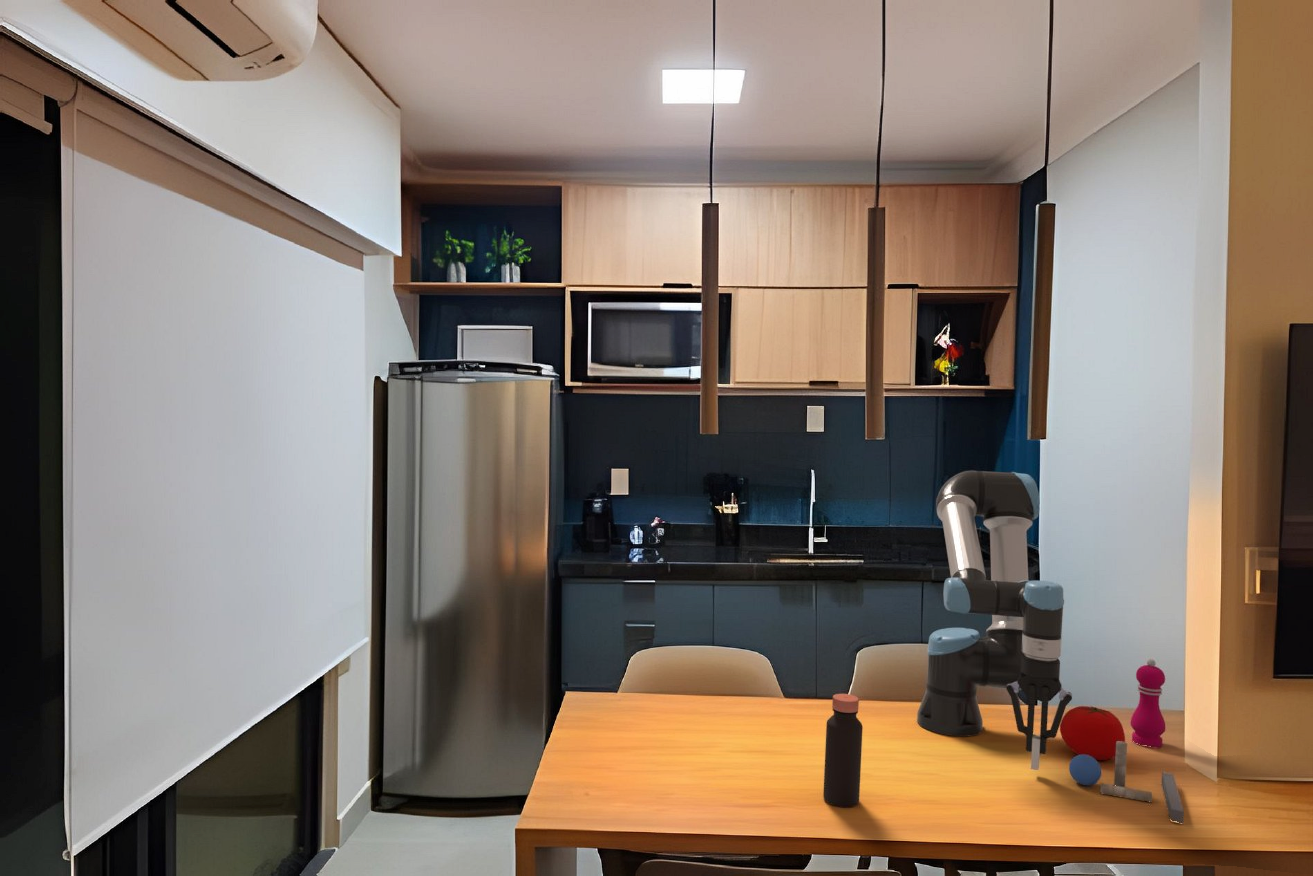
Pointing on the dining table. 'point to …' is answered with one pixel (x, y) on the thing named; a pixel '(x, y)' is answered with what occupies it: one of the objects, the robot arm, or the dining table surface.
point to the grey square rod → (1172, 797)
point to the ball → (1085, 769)
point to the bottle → (843, 753)
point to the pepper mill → (1148, 706)
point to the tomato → (1092, 732)
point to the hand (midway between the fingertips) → (1034, 767)
